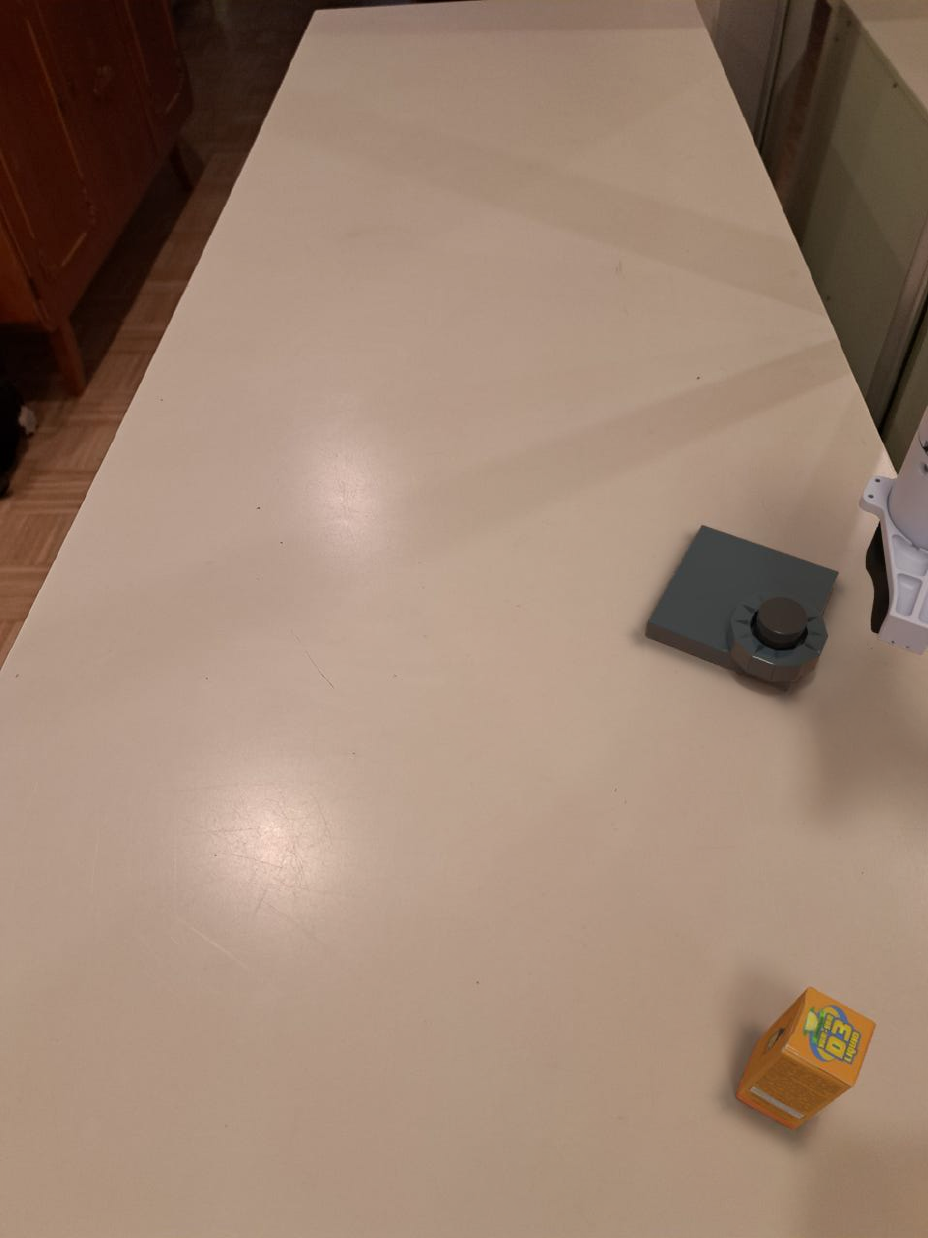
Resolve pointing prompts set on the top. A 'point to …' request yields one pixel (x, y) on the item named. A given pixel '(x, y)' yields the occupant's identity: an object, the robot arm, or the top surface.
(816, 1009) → the supplement box
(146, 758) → the top surface
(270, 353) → the top surface
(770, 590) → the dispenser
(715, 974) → the top surface
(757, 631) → the dark brown short cylinder
